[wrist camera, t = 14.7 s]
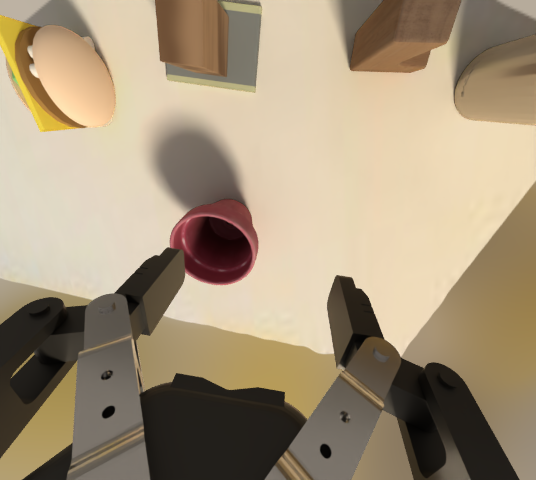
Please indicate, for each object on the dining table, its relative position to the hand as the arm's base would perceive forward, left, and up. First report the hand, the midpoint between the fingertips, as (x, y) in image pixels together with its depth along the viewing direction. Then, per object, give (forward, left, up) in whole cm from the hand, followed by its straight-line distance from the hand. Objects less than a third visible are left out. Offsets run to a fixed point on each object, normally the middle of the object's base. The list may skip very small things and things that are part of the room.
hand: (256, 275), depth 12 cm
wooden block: (-12, -16, -34) cm, 40 cm away
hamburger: (+32, -7, -34) cm, 47 cm away
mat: (+13, -14, -34) cm, 39 cm away
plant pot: (+9, +14, -34) cm, 38 cm away
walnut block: (+13, -14, -34) cm, 38 cm away
